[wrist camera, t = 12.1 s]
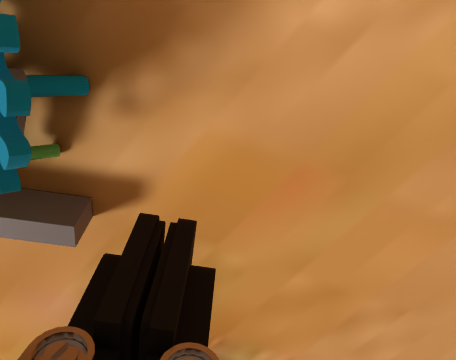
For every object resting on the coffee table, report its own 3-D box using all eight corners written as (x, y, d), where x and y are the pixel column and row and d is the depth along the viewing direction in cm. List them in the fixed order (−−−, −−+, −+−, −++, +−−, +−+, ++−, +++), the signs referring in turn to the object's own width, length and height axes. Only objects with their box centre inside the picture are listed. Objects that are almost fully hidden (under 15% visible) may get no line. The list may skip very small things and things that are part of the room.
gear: (-84, -92, 16) (-2, 46, 12) (62, -56, 20) (162, 56, 16) (-73, 122, 22) (-18, 260, 18) (36, 116, 26) (101, 228, 22)
